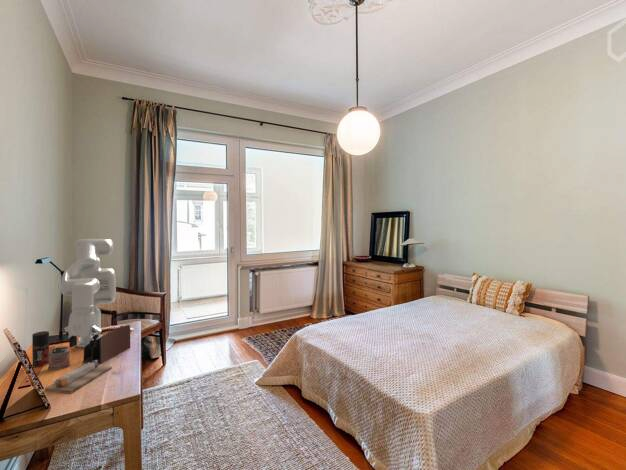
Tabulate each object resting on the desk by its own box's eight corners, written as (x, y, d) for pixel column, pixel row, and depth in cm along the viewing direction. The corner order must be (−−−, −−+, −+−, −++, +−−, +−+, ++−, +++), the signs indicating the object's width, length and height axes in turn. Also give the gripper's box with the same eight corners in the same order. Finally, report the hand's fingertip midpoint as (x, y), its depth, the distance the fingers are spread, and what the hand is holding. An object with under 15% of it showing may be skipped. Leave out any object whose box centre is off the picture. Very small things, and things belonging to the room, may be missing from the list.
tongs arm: (92, 368, 140) (92, 362, 140) (95, 368, 140) (95, 362, 140) (59, 386, 124) (59, 379, 124) (62, 387, 124) (62, 379, 124)
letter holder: (130, 348, 167) (131, 322, 166) (101, 364, 147) (101, 335, 146) (114, 346, 168) (114, 321, 167) (82, 362, 148) (83, 334, 148)
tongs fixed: (93, 366, 142) (93, 359, 142) (98, 366, 142) (98, 359, 142) (56, 387, 124) (56, 379, 124) (61, 387, 124) (61, 379, 124)
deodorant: (46, 360, 149) (46, 330, 149) (50, 363, 146) (50, 333, 145) (30, 364, 144) (30, 333, 144) (34, 368, 141) (34, 336, 140)
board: (88, 366, 144) (88, 364, 144) (111, 368, 143) (111, 366, 143) (45, 390, 123) (45, 388, 123) (71, 393, 122) (71, 390, 122)
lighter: (47, 370, 139) (47, 349, 139) (49, 367, 142) (50, 346, 142) (68, 367, 143) (68, 346, 142) (71, 364, 146) (71, 344, 145)
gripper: (57, 310, 131) (57, 348, 132) (93, 313, 129) (93, 352, 130) (72, 305, 139) (73, 341, 140) (107, 308, 137) (107, 345, 138)
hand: (83, 347), depth 135 cm, fingers open, 9 cm apart
